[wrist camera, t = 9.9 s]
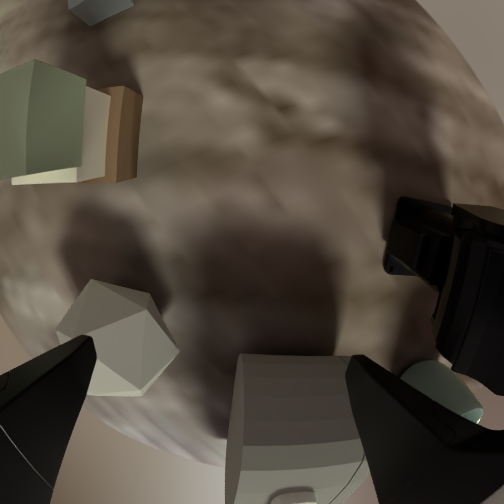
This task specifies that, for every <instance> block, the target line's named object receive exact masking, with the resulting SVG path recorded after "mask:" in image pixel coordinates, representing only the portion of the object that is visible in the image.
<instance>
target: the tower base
mask: <svg viewBox="0 0 504 504" xmlns="http://www.w3.org/2000/svg"><path fill="white" fill-rule="evenodd" d="M95 90H97V91H100V92H102V93H105V94H107V95H109V96H111V100H110V108H109V117H108V128H107V140H106V157H105V176H103V177H99V178H94V179H89V180H85V181H80V182H71V183H117V182H121V181H124V180H128V179H132V178H136V177H137V159H138V144H139V132H140V121H141V112H142V103H143V96H141V95H140V94H138V93H136V92H134V91H133V90H131V89H129V88H127V87H126V86H116V87H107V88H98V89H95ZM42 184H44V183H42Z"/></svg>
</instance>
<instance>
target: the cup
mask: <svg viewBox="0 0 504 504" xmlns="http://www.w3.org/2000/svg"><path fill="white" fill-rule="evenodd" d="M400 379H402V380H403V381H405V382H406V383H408V384H409V385H411V386H412V387H414V388H416V389H417V390H419V391H420V392H422V393H423V394H425V395H427V396H428V397H430V398H431V399H433V400H435V401H436V402H438V403H439V404H441V405H443V406H444V407H446V408H448V409H449V410H451V411H453V412H455V413H457V414H458V415H460V416H462V417H464V418H466V419H468V420H470V421H472V422H474V423H476V424H478V422H479V421H480V419H481V417H482V415H483V411H484V410H483V407H482V405H481V404H480V402H479V401H478V399H477V398H476V397H475V395H474V394H473V393H472V392H471V390H470V389H469V388H468V387H467V386H466V384H465V383H464V382H463V381H462V380H461V379H460V378H459V377H458V375H457V374H456V373H454V372H453V371H452V370H451V369H450V368H449V367H447V366H446V365H444V364H443V363H441V362H439V361H434V360H425V361H421V362H418V363H416V364H414V365H412V366H411V367H409V368H408V369H407V370H406V371H405V372H404V373H403V374H402V376H401V377H400Z"/></svg>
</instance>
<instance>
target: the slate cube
mask: <svg viewBox="0 0 504 504" xmlns="http://www.w3.org/2000/svg"><path fill="white" fill-rule="evenodd" d="M133 6H135V5H134V0H68V10H69V11H70V12H72V13H73V14H74V15H76V16H77V17H78V18H80V19H81V20H82V21H83V22H85V23H86V24H87V25H89V26H90V27H91V26H93V25H95V24H97V23H99V22H101V21H103V20H105V19H107V18H109V17H111V16H113V15H115V14H117V13H119V12H121V11H124V10H126V9H128V8H131V7H133Z"/></svg>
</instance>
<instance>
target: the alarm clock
mask: <svg viewBox="0 0 504 504" xmlns="http://www.w3.org/2000/svg"><path fill="white" fill-rule="evenodd" d="M351 357H352V356H286V355H262V354H245V353H240V354H239V357H238V361H237V368H236V375H235V382H234V389H233V397H232V405H231V413H230V421H229V429H228V438H227V448H226V466H225V504H341V503H342V502H343V501H345V500H346V498H348V497H349V496H350V495H351V494H352V492H354V490H355V489H357V488H358V486H359V485H360V484H361V483H362V482H363V481H364V480H365V479H366V477H367V476H368V474H369V473H370V470H369V466H368V463H367V460H366V456H365V453H364V450H363V446H362V443H361V440H360V437H359V433H358V430H357V427H356V424H355V421H354V418H353V414H352V410H351V405H350V400H349V395H348V390H347V385H346V380H345V372H346V369H347V367H348V364H349V361H350V359H351Z"/></svg>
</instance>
